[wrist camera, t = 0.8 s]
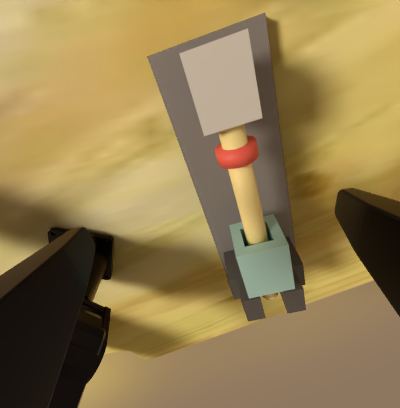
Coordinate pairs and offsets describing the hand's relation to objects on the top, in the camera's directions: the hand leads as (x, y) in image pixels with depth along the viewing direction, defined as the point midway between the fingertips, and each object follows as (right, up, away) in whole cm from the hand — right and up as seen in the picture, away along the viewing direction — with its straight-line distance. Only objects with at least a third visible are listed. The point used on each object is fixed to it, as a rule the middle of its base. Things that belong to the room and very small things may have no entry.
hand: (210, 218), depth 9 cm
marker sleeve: (+5, -3, +13) cm, 14 cm away
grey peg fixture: (+3, +3, +14) cm, 15 cm away
